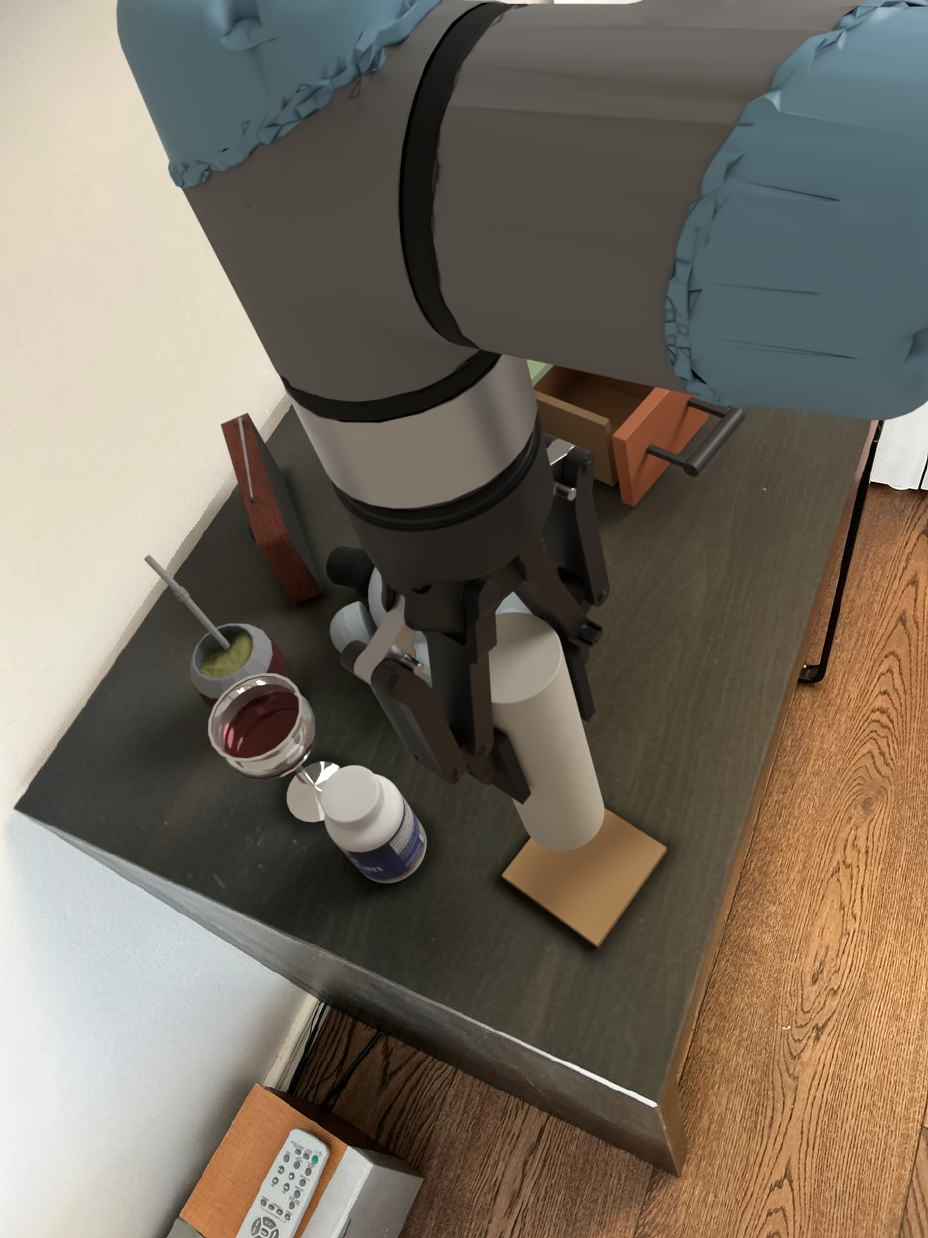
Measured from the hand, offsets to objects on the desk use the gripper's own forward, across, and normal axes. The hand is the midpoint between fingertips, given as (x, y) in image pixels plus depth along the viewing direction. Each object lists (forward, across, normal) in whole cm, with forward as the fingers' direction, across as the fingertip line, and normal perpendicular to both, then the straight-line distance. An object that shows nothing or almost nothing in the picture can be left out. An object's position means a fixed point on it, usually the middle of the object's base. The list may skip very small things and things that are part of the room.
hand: (539, 744), depth 52 cm
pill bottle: (+18, +7, -12) cm, 23 cm away
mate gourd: (+18, +4, -30) cm, 35 cm away
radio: (+18, -9, -40) cm, 45 cm away
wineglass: (+18, +7, -20) cm, 28 cm away
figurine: (+18, -11, -22) cm, 30 cm away
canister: (+9, 0, 0) cm, 9 cm away
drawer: (+17, -33, -19) cm, 42 cm away
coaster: (+18, 0, 0) cm, 18 cm away
